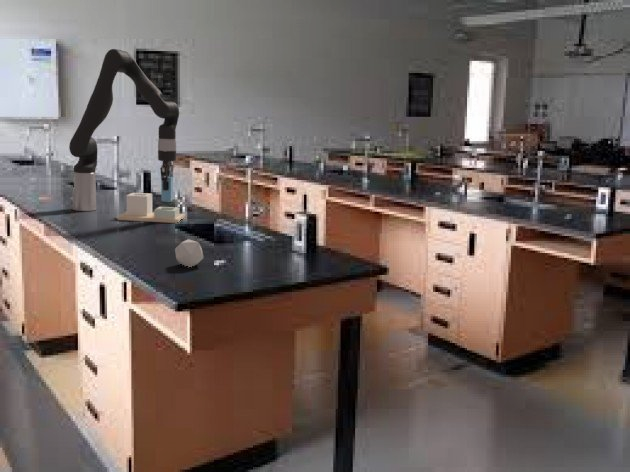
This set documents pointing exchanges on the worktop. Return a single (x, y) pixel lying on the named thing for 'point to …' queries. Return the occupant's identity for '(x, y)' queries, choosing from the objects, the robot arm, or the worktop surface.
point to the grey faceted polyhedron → (189, 253)
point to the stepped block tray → (148, 210)
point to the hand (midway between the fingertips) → (167, 189)
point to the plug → (167, 191)
